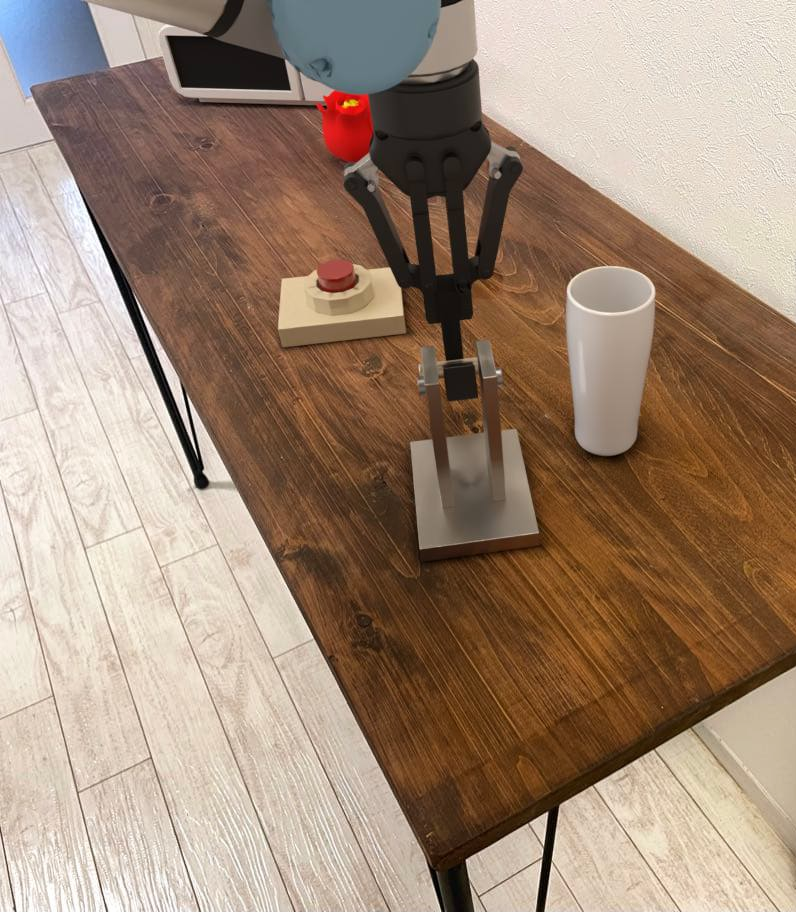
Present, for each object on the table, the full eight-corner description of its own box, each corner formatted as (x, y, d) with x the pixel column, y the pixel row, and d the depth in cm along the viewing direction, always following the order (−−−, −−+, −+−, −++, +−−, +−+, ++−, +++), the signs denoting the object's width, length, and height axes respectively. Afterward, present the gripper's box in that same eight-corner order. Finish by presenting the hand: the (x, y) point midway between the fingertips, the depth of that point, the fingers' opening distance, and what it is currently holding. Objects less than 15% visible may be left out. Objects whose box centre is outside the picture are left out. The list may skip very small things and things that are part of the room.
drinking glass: (550, 431, 80) (547, 282, 69) (613, 402, 82) (620, 255, 72) (596, 476, 76) (601, 326, 65) (661, 444, 78) (675, 294, 68)
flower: (395, 165, 117) (386, 103, 111) (335, 177, 115) (323, 114, 110) (379, 141, 122) (370, 80, 117) (322, 151, 120) (310, 90, 115)
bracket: (412, 454, 78) (390, 319, 69) (517, 441, 79) (509, 306, 69) (421, 562, 69) (398, 425, 60) (539, 545, 70) (534, 408, 61)
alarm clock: (176, 105, 132) (150, 18, 124) (202, 80, 139) (178, -4, 131) (361, 111, 129) (347, 22, 121) (378, 85, 136) (366, -1, 128)
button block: (282, 347, 89) (273, 313, 87) (286, 296, 96) (277, 263, 93) (406, 333, 91) (401, 299, 88) (401, 284, 97) (396, 250, 94)
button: (319, 296, 89) (316, 280, 88) (320, 276, 92) (316, 261, 91) (357, 292, 90) (354, 276, 89) (356, 272, 92) (353, 257, 91)
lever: (421, 385, 78) (417, 357, 78) (491, 377, 79) (488, 349, 78) (420, 405, 64) (415, 371, 64) (505, 394, 65) (501, 361, 65)
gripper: (511, 33, 64) (523, 315, 80) (321, 49, 63) (373, 333, 79) (527, 74, 58) (537, 368, 75) (320, 93, 57) (376, 388, 73)
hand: (453, 350), depth 77 cm, fingers closed
